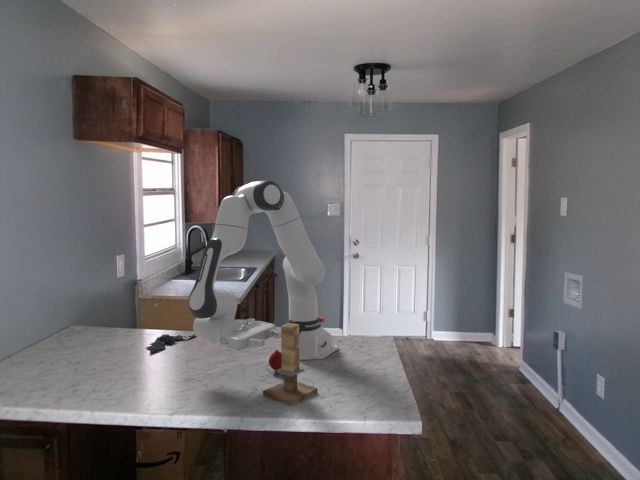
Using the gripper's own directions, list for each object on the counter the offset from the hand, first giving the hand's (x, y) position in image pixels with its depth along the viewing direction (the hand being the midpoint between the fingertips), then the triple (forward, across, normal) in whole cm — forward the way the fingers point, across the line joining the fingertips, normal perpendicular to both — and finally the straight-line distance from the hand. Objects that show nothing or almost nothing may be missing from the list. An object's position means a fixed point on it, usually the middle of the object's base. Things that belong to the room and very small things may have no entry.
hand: (271, 339), depth 166 cm
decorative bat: (-65, +21, +17) cm, 71 cm away
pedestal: (+7, 0, +16) cm, 18 cm away
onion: (-8, +15, +17) cm, 24 cm away
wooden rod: (+7, 0, +8) cm, 11 cm away
